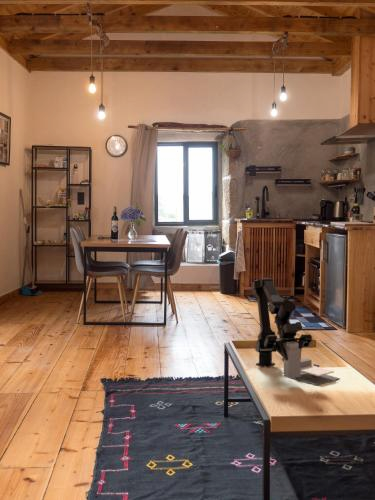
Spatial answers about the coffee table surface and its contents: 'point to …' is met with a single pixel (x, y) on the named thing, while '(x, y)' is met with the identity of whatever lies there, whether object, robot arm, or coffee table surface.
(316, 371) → the trapdoor flap
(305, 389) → the coffee table surface
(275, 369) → the coffee table surface
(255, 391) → the coffee table surface
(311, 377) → the stand
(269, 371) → the coffee table surface
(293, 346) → the stone pillar
